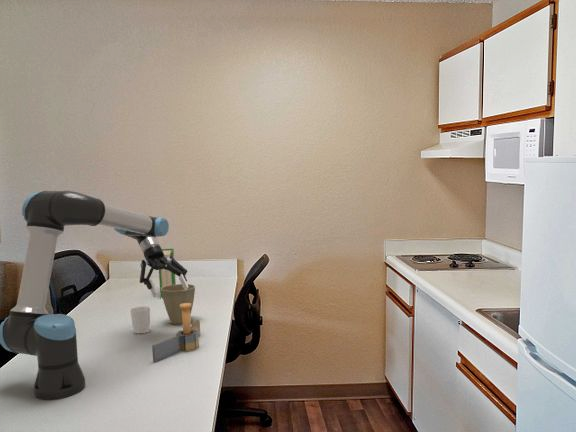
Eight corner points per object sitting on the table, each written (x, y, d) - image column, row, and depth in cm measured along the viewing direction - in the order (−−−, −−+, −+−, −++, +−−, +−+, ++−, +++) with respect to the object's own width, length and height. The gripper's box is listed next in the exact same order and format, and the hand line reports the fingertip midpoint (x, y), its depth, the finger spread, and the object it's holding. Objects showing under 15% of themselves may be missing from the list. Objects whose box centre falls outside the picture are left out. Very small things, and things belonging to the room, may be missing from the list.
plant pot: (197, 325, 235) (194, 289, 234) (162, 328, 233) (159, 292, 231) (197, 316, 250) (195, 282, 248) (164, 319, 247) (162, 285, 246)
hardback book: (174, 297, 288) (172, 253, 285) (160, 298, 286) (157, 254, 284) (176, 290, 305) (173, 248, 303) (162, 291, 304) (159, 249, 301)
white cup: (154, 331, 230) (153, 308, 229) (138, 335, 224) (136, 312, 223) (144, 327, 235) (143, 305, 234) (128, 332, 229) (126, 309, 228)
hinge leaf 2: (175, 351, 203) (174, 336, 202) (190, 334, 223) (189, 319, 223) (194, 351, 202) (194, 335, 201) (207, 333, 223) (207, 319, 222)
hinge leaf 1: (187, 343, 212) (186, 328, 211) (202, 346, 207) (202, 331, 206) (146, 359, 195) (145, 343, 194) (162, 364, 190) (161, 347, 190)
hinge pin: (180, 349, 204) (178, 306, 203) (184, 346, 209) (181, 303, 207) (192, 349, 204) (189, 305, 202) (195, 345, 208) (192, 302, 207)
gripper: (176, 252, 233) (196, 291, 223) (120, 260, 217) (139, 303, 207) (181, 241, 228) (202, 281, 218) (125, 248, 212) (144, 291, 202)
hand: (171, 291), depth 212 cm, fingers open, 13 cm apart
